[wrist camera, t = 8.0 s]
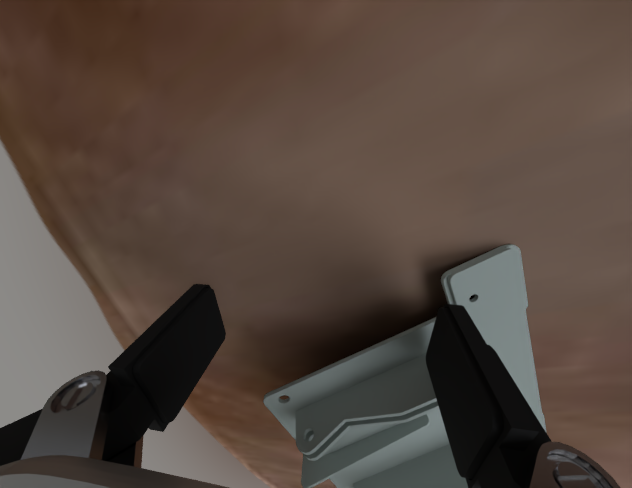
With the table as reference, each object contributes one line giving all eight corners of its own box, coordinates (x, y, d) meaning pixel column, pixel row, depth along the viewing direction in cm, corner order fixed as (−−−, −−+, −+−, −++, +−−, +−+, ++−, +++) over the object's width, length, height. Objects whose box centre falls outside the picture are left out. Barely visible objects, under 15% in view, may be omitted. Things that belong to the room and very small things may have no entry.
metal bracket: (360, 569, 13) (203, 425, 8) (340, 450, 19) (239, 318, 13) (603, 477, 12) (603, 245, 7) (507, 380, 18) (468, 208, 12)
